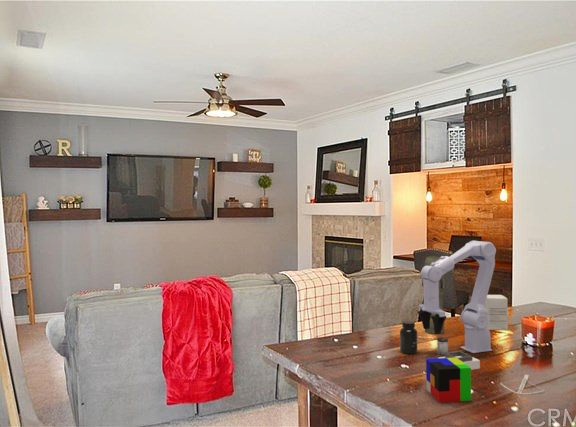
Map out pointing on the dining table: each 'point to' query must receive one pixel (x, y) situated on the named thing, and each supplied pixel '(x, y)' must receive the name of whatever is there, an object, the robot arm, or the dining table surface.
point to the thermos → (441, 292)
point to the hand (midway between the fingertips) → (432, 331)
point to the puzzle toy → (448, 379)
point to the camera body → (464, 359)
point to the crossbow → (522, 387)
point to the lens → (442, 346)
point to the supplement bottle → (408, 338)
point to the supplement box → (497, 312)
